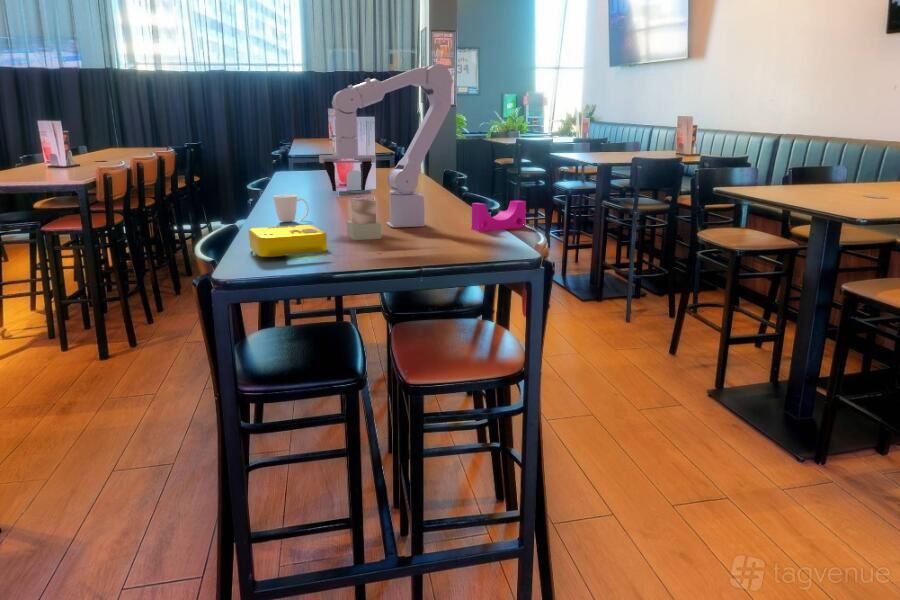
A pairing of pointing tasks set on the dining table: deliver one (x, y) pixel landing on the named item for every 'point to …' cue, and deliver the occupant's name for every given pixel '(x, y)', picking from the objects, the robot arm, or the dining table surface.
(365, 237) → the sage base block
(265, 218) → the dining table surface
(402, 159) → the robot arm
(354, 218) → the ash block
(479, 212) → the toy block
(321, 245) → the element tile
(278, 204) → the cup
